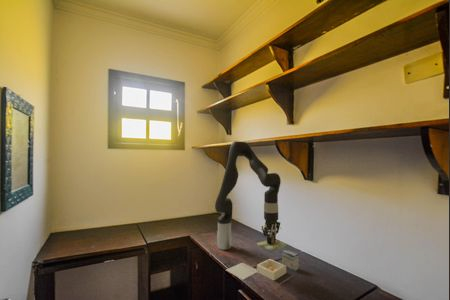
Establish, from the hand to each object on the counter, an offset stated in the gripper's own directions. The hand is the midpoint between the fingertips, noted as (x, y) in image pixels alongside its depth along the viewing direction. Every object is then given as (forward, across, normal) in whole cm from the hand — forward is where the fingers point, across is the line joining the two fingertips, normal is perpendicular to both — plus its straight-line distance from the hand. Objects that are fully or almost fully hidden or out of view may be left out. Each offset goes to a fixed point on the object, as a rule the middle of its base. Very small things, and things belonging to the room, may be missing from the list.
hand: (271, 242), depth 124 cm
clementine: (+14, 0, 0) cm, 14 cm away
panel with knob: (+17, +10, -12) cm, 23 cm away
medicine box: (+17, -13, +3) cm, 21 cm away
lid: (+1, 0, 0) cm, 1 cm away
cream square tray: (+17, 0, 0) cm, 17 cm away
